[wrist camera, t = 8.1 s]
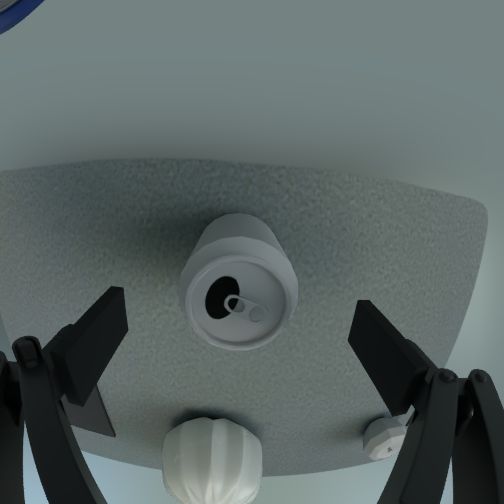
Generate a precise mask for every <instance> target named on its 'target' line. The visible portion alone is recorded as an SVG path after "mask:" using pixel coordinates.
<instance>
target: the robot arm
mask: <svg viewBox="0 0 504 504" xmlns="http://www.w3.org/2000/svg"><path fill="white" fill-rule="evenodd" d="M20 1H22V0H0V14H2V13H4V12H6V11H8V10H10V9H11V8H13V7H14V6H15V5H17V4H18V3H19V2H20ZM127 332H128V323H127V316H126V308H125V299H124V289H123V287H115V286H111V287H110V288H109V289H108V290H107V291H106V292H105V293H104V294H103V295H102V296H101V297H100V298H99V299H98V300H97V301H96V302H95V303H94V304H93V305H92V306H91V307H90V308H89V309H88V310H87V311H86V312H85V313H84V314H83V316H82V317H81V318H80V319H79V320H78V321H77V322H76V323H75V324H74V325H73V324H69V325H67V326H65V327H63V328H62V329H61V330H60V331H59V332H58V333H57V335H55V336H54V337H53V338H52V340H50V341H49V343H48V344H47V345H46V346H45V347H44V348H43V349H41V346H40V342H39V340H38V339H37V338H36V337H34V336H24V337H21V338H19V339H17V340H15V342H14V343H13V344H12V350H13V352H14V355H15V358H16V360H17V362H11V361H8V360H7V358H6V356H5V354H4V353H3V352H2V351H0V504H25V499H24V486H23V436H24V421H25V423H26V428H27V433H28V438H29V441H30V446H31V450H32V454H33V457H34V461H35V464H36V468H37V471H38V474H39V477H40V480H41V483H42V486H43V489H44V492H45V494H46V497H47V500H48V502H49V504H107V502H106V500H105V498H104V497H103V495H102V493H101V491H100V489H99V488H98V486H97V484H96V482H95V480H94V478H93V476H92V474H91V472H90V470H89V468H88V466H87V464H86V462H85V459H84V457H83V455H82V453H81V450H80V448H79V446H78V443H77V441H76V438H75V436H74V433H73V431H72V428H71V425H70V422H69V420H68V417H67V414H66V411H65V408H64V405H63V402H62V400H61V398H62V397H63V395H64V394H65V395H66V398H67V400H68V402H69V403H71V404H74V405H77V406H81V407H84V405H85V403H86V401H87V400H88V398H89V396H90V394H91V392H92V391H93V389H94V387H95V385H96V384H97V382H98V380H99V378H100V377H101V375H102V373H103V371H104V370H105V368H106V366H107V365H108V363H109V361H110V360H111V358H112V356H113V354H114V353H115V351H116V350H117V348H118V346H119V345H120V343H121V341H122V340H123V338H124V336H125V335H126V333H127ZM348 342H349V344H350V345H351V347H352V349H353V350H354V352H355V354H356V355H357V357H358V358H359V360H360V362H361V363H362V365H363V367H364V368H365V370H366V372H367V373H368V375H369V377H370V378H371V380H372V382H373V384H374V385H375V387H376V389H377V390H378V392H379V394H380V395H381V397H382V399H383V401H384V402H385V404H386V406H387V408H388V409H389V411H390V413H391V414H392V416H393V417H394V416H398V415H402V414H406V413H407V411H408V409H409V408H410V406H411V404H412V405H413V407H414V408H415V410H414V412H413V414H412V415H411V417H410V419H409V420H408V422H407V424H406V425H405V426H408V425H409V426H408V429H407V432H406V435H405V438H404V441H403V444H402V446H401V449H400V452H399V455H398V457H397V460H396V462H395V465H394V467H393V470H392V472H391V474H390V477H389V479H388V481H387V484H386V486H385V488H384V490H383V492H382V494H381V496H380V499H379V501H378V502H377V504H440V501H441V498H442V494H443V490H444V486H445V482H446V478H447V474H448V469H449V464H450V459H451V457H452V472H453V504H504V409H503V407H502V404H501V401H500V399H499V396H498V393H497V391H496V389H495V386H494V384H493V381H492V379H491V377H490V376H489V374H488V373H486V372H485V371H483V370H479V369H474V370H472V371H471V372H470V374H469V376H468V378H458V376H457V375H456V374H455V373H454V372H453V371H451V370H449V369H444V368H440V369H438V368H437V367H436V365H435V364H434V363H433V362H432V361H431V360H430V359H429V358H428V357H427V355H425V353H424V352H423V351H421V349H420V348H419V347H418V346H417V345H416V344H415V343H414V342H412V341H411V340H409V339H405V338H404V337H403V336H402V335H401V333H400V332H399V331H398V330H397V329H396V328H395V327H394V326H393V325H392V324H391V323H390V322H389V320H388V319H387V318H386V317H385V316H384V315H383V314H382V313H381V312H380V311H379V310H378V309H377V308H376V307H375V306H374V305H373V304H372V303H371V301H370V300H358V301H357V305H356V309H355V314H354V318H353V322H352V326H351V329H350V333H349V337H348ZM472 413H473V416H472Z"/></svg>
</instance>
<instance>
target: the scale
mask: <svg viewBox="0 0 504 504" xmlns="http://www.w3.org/2000/svg"><path fill="white" fill-rule="evenodd" d="M61 400H62V402H63V405H64V408H65V411H66V414H67V417H68V420H69V422H70V425H73V426H76V427H79V428H83V429H86V430H89V431H93V432H96V433H100V434H103V435H107V436H111V437H115V436H116V435H115V432H114V430H113V427H112V425H111V423H110V420H109V418H108V415H107V412H106V410H105V407H104V404H103V402H102V399H101V396H100V393H99V390H98V387H97V384H96V385H95V387H94V389H93V391H92V392H91V394H90V396H89V398H88V400H87V401H86V403H85V405H84V407H81V406H77V405H74V404H71V403H69V402H68V400H67V398H66V395H65V394H64V395H63V397H62V398H61Z"/></svg>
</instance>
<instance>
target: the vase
mask: <svg viewBox="0 0 504 504" xmlns="http://www.w3.org/2000/svg"><path fill="white" fill-rule="evenodd" d="M262 469H263V465H262V449H261V443H260V441H259V439H258V438H257V437H256V436H255V435H253V434H252V433H251V432H250V431H248V430H247V429H246V428H244V427H243V426H242V425H238V424H236V423H234V422H232V421H230V420H228V419H225V418H222V419H217V420H212V419H209V418H206V417H201V418H197V419H193V420H190V421H185V422H184V423H182V424H180V425H179V426H177V427H175V428H173V429H172V430H170V431H168V432H167V434H166V436H165V439H164V443H163V459H162V473H163V482H164V486H165V488H166V491H167V492H168V493H169V494H170V495H171V496H172V497H173V498H174V499H175V500H176V501H178V502H179V503H180V504H249V503H250V502H252V501H253V500H254V499H255V498H256V497H257V495H258V493H259V490H260V486H261V480H262Z"/></svg>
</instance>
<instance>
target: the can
mask: <svg viewBox="0 0 504 504" xmlns="http://www.w3.org/2000/svg"><path fill="white" fill-rule="evenodd" d="M178 296H179V301H180V306H181V310H182V312H183V313H184V315H185V317H186V319H187V320H188V322H189V324H190V325H191V326H192V328H193V330H194V331H195V332H196V333H197V334H198V335H199V336H200V337H201V338H202V339H203V340H205V341H206V342H208V343H210V344H212V345H214V346H216V347H218V348H220V349H226V350H232V351H244V350H253V349H255V348H258V347H261V346H263V345H266V344H268V343H269V342H270V341H272V340H273V339H275V338H276V337H277V336H279V335H280V333H281V332H282V331H283V329H284V328H285V327H286V325H287V324H288V322H289V319H290V318H291V317H292V315H293V313H294V310H295V307H296V304H297V301H298V280H297V278H296V275H295V273H294V270H293V268H292V265H291V263H290V262H289V260H288V258H287V256H286V254H285V253H284V251H283V249H282V247H281V246H280V244H279V242H278V241H277V239H276V237H275V235H274V234H273V232H272V231H271V229H270V228H269V227H268V226H267V225H266V224H265V223H264V222H263V221H261V220H260V219H258V218H256V217H255V216H253V215H248V214H244V213H232V214H226V215H224V216H221V217H219V218H217V219H215V220H214V221H213V222H212V223H210V224H209V225H208V226H207V227H206V228H205V230H204V232H203V233H202V235H201V237H200V239H199V241H198V243H197V244H196V246H195V248H194V250H193V252H192V254H191V256H190V258H189V260H188V261H187V263H186V265H185V267H184V269H183V271H182V273H181V275H180V281H179V287H178Z"/></svg>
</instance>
